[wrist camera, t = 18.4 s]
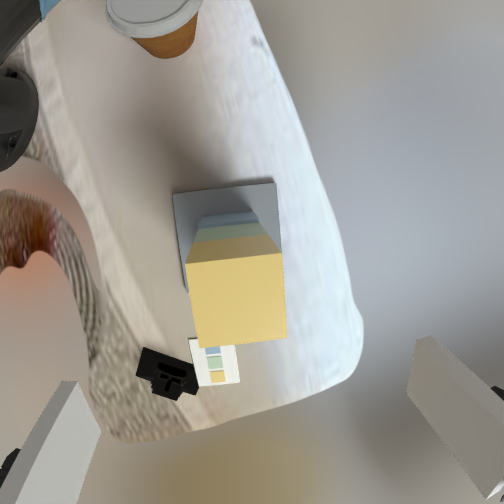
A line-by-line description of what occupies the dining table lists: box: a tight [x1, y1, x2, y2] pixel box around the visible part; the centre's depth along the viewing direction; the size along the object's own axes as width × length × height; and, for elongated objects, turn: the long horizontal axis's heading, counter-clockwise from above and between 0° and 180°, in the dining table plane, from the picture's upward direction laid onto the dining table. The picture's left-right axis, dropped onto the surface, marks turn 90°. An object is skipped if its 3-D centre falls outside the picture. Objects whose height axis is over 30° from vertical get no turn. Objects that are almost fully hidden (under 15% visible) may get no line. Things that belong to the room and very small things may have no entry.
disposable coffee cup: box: [106, 0, 203, 59], centre depth 26 cm, size 10×10×12 cm
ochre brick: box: [185, 234, 287, 348], centre depth 23 cm, size 6×6×6 cm
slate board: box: [172, 183, 282, 292], centre depth 38 cm, size 12×12×1 cm
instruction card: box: [189, 339, 240, 386], centre depth 42 cm, size 8×6×1 cm
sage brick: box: [193, 222, 268, 243], centre depth 29 cm, size 6×6×6 cm
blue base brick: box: [198, 211, 259, 229], centre depth 35 cm, size 6×6×6 cm
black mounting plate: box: [136, 347, 199, 401], centre depth 41 cm, size 12×7×5 cm, turn 67°
